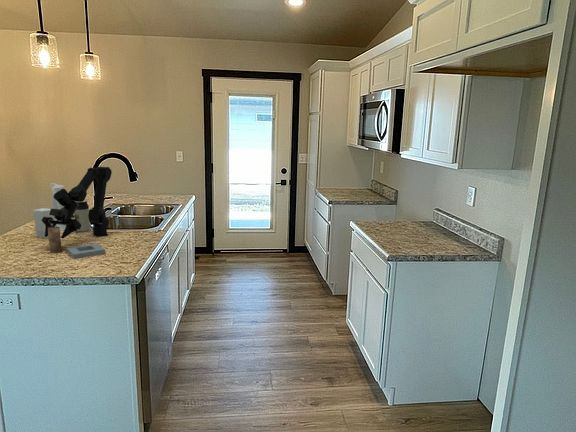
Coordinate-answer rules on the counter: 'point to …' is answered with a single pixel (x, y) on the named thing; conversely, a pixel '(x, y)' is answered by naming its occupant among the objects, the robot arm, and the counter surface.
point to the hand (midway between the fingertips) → (53, 237)
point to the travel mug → (83, 216)
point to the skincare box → (38, 223)
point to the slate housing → (85, 250)
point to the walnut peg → (54, 239)
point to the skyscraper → (55, 204)
